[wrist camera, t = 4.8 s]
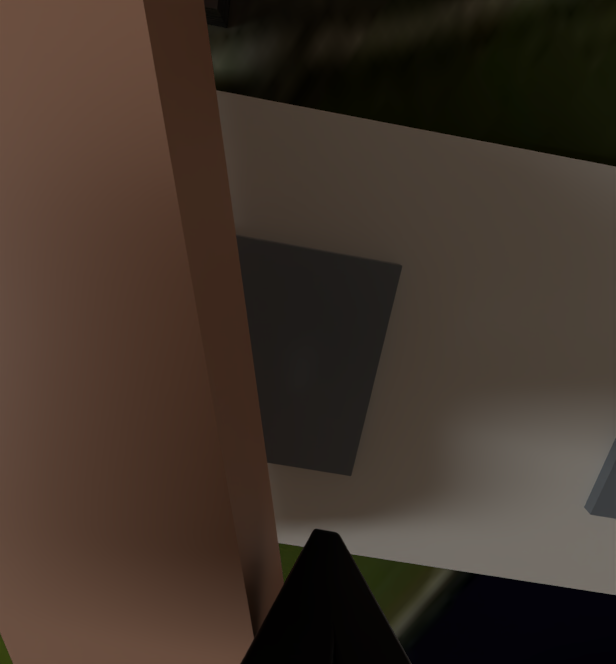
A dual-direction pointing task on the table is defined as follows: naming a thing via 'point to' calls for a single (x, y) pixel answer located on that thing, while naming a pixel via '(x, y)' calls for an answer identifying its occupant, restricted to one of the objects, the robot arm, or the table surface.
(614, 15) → the table surface
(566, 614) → the table surface
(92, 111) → the cable arm
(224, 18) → the dark plate
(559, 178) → the panel
